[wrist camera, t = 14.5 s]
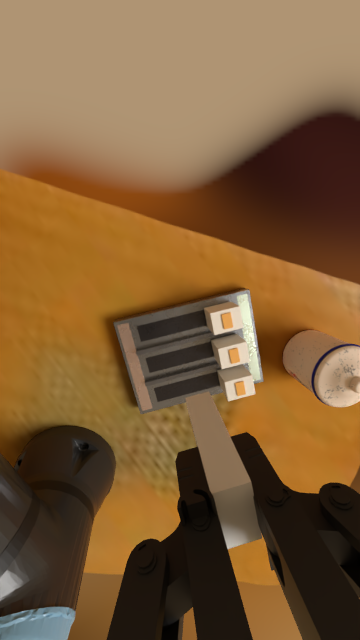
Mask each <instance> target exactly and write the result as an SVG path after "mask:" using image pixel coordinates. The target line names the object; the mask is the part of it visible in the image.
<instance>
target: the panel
mask: <svg viewBox="0 0 360 640" xmlns="http://www.w3.org/2000/svg"><path fill="white" fill-rule="evenodd" d="M230 301H231V302H233V303H235V304H237V305H239V306H240V310H241V315H242V321H243V327H244V328H241V329H237V330H233V331H229V332H225V333H221V334H217V335H214V334H213V333H212V332H211V331H210V330H209V328H208V327H207V322H206V317H205V312H204V308H206V307H210V306H214V305H218V304H222V303H226V302H230ZM113 323H114V327H115V330H116V333H117V337H118V340H119V343H120V347H121V350H122V353H123V357H124V360H125V363H126V367H127V370H128V373H129V377H130V380H131V383H132V387H133V390H134V394H135V397H136V400H137V404H138V407H139V410H140V414H144V413H147V412H151V411H155V410H159V409H162V408H166V407H170V406H173V405H177V404H181V403H185V402H186V399H185V398H186V397H190V396H194V395H197V394H201V393H205V392H208V391H209V393H210V395H214V394H218V393H222V392H223V391H222V389H221V387H220V382H219V377H218V372H217V370H220V369H221V367H220V366H219V364H218V363H217V361H216V360H215V358H214V353H213V348H212V343H211V340H213V339H217V338H221V337H225V336H229V335H233V334H238V335H239V336H240V337H242V338H243V339H244V340H245V341H246V342H247V347H248V353H249V359H250V362H248V363H244V364H243V365H244V367H245V368H246V369H247V370H248V371H249V372H250V373H251V374H252V377H253V383H254V384H255V383H259V382H263V374H262V368H261V362H260V355H259V349H258V342H257V336H256V330H255V323H254V317H253V311H252V304H251V298H250V291H249V289H245V288H243V289H239V290H235V291H231V292H226V293H222V294H218V295H214V296H210V297H206V298H202V299H198V300H194V301H189V302H185V303H181V304H177V305H173V306H169V307H165V308H161V309H157V310H152V311H148V312H144V313H140V314H136V315H132V316H128V317H124V318H120V319H116V320H115V321H114V322H113Z"/></svg>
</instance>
